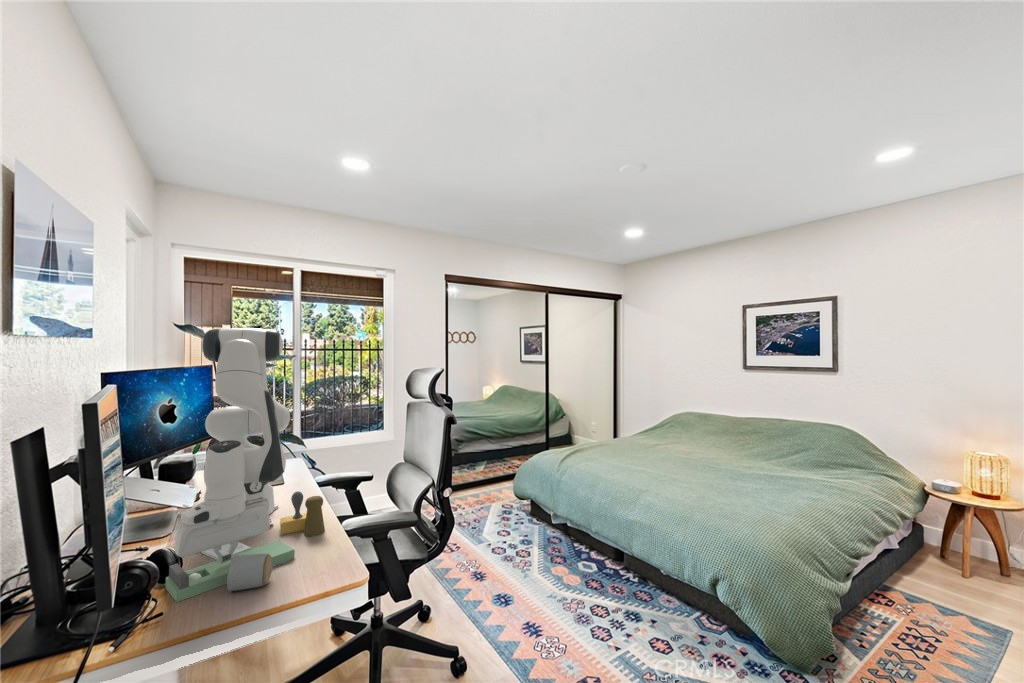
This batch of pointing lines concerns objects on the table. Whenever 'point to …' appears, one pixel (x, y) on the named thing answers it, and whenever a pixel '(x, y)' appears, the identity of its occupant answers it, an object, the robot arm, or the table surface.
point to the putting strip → (218, 571)
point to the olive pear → (314, 516)
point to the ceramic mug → (249, 571)
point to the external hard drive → (225, 548)
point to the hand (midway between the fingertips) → (225, 561)
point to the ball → (194, 576)
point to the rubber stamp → (294, 517)
